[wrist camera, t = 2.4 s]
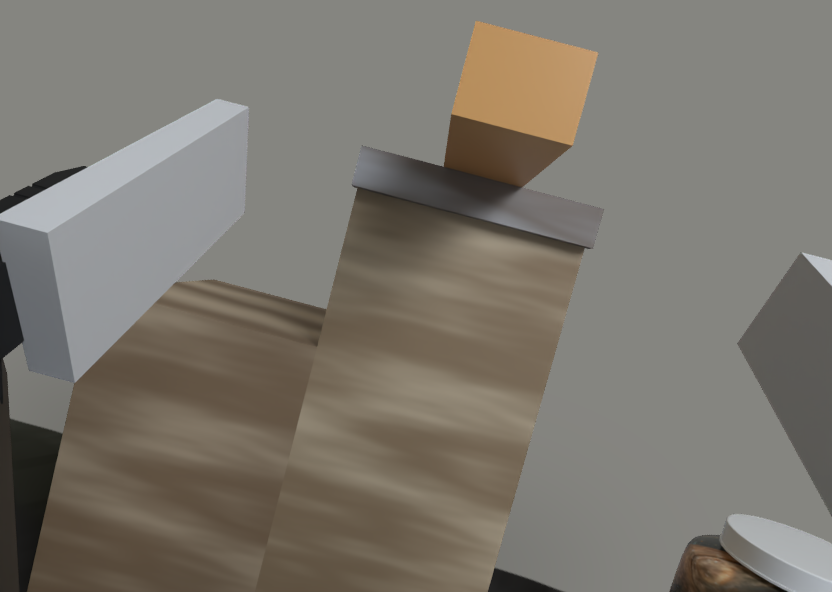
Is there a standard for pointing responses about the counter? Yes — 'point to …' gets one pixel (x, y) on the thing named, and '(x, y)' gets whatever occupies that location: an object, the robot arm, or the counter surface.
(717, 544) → the jar
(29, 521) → the counter surface
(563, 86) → the orange box
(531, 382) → the wooden stepped block
